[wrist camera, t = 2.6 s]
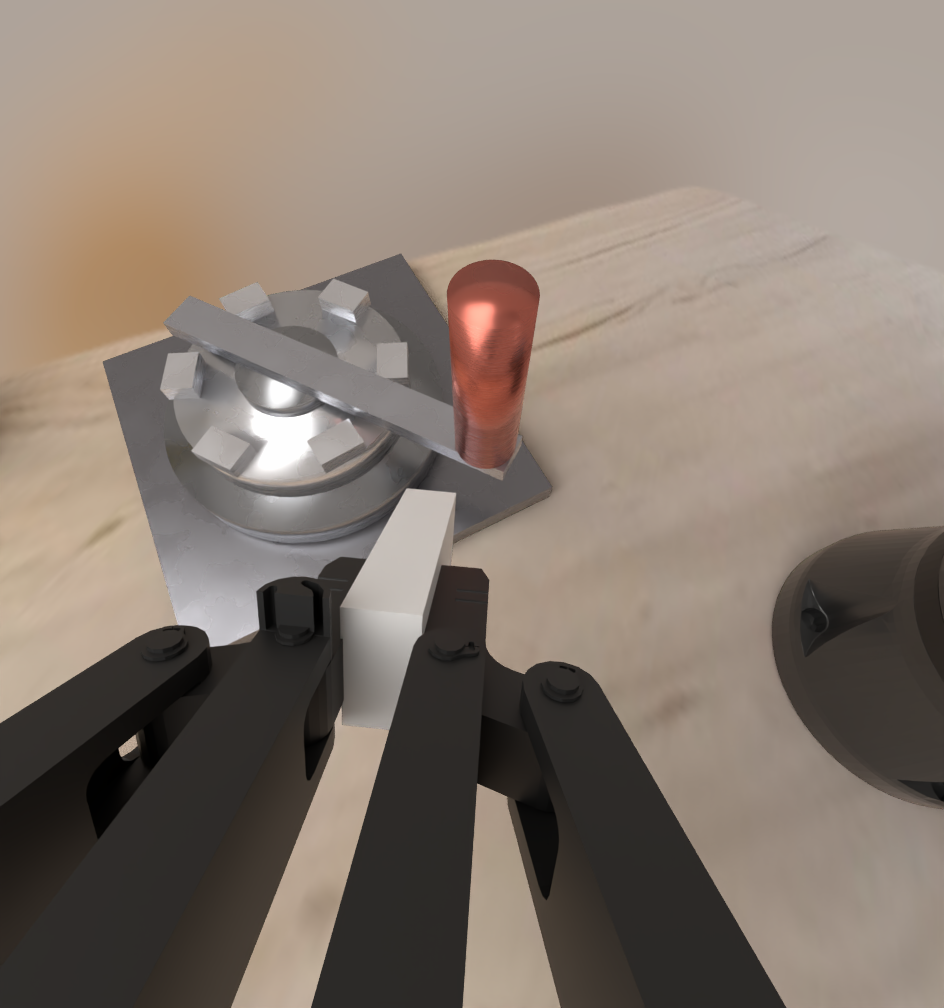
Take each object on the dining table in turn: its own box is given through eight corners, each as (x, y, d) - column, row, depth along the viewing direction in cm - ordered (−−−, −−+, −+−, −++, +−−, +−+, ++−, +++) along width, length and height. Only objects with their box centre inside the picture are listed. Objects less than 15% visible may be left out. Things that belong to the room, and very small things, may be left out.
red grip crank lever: (139, 439, 32) (-95, 235, 19) (272, 288, 37) (162, 44, 24) (453, 595, 28) (437, 475, 15) (553, 401, 33) (608, 185, 20)
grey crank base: (403, 268, 43) (397, 229, 40) (549, 496, 35) (557, 471, 31) (115, 374, 39) (81, 340, 35) (201, 666, 30) (167, 658, 27)
